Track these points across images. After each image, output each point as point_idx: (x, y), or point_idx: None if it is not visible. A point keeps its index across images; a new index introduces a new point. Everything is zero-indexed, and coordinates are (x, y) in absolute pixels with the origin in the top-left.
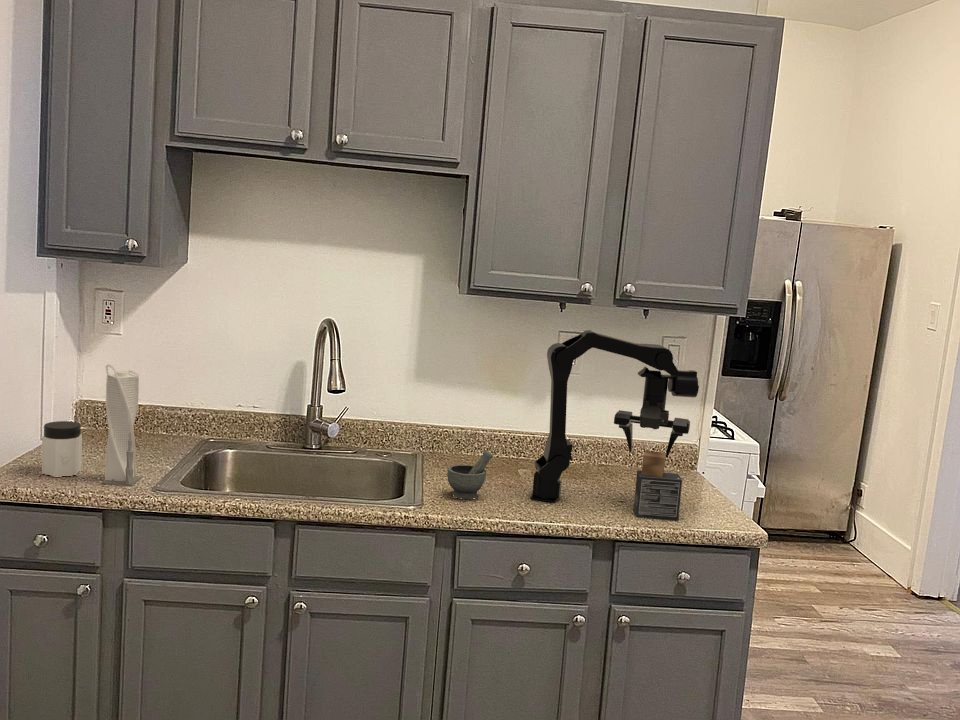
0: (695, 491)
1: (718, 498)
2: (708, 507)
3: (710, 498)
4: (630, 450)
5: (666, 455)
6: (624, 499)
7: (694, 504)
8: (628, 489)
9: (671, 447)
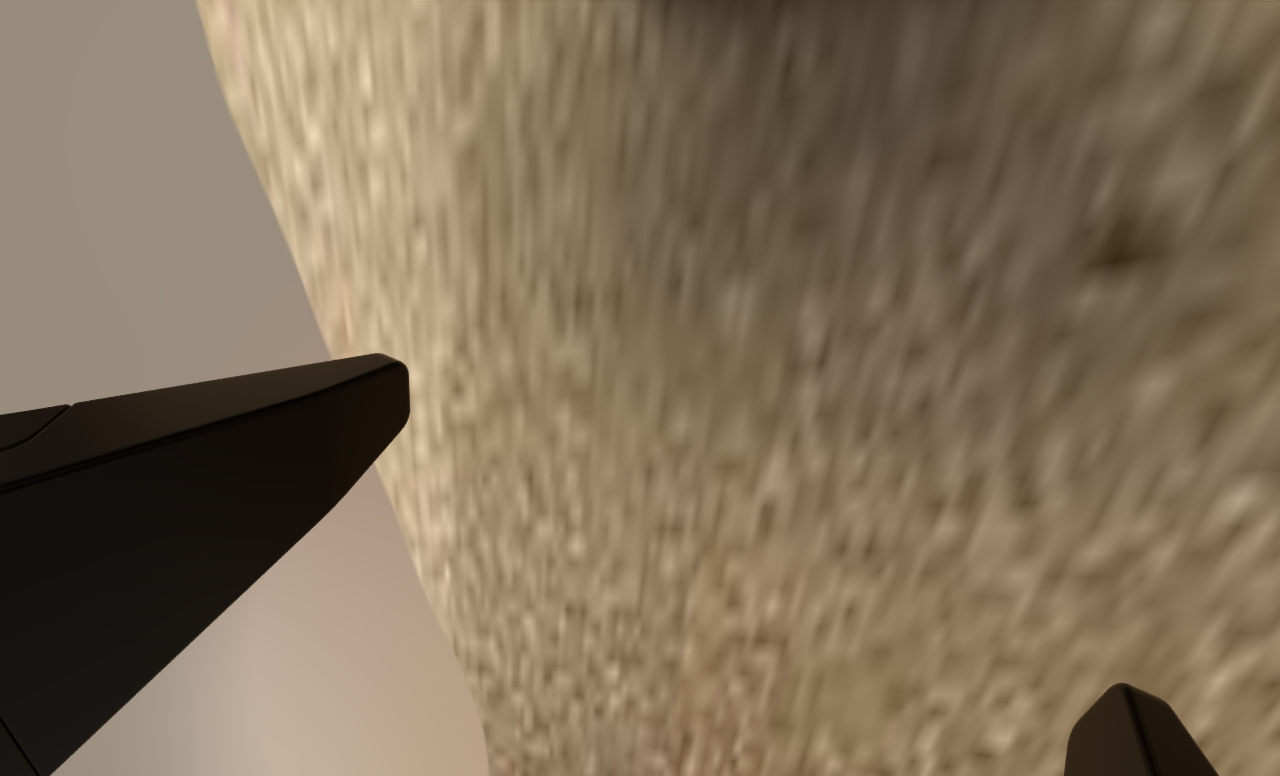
0: (480, 542)
1: None
2: (401, 246)
3: (406, 430)
4: (1153, 724)
5: (368, 369)
6: (1048, 329)
7: (479, 296)
8: (907, 589)
9: (118, 399)
